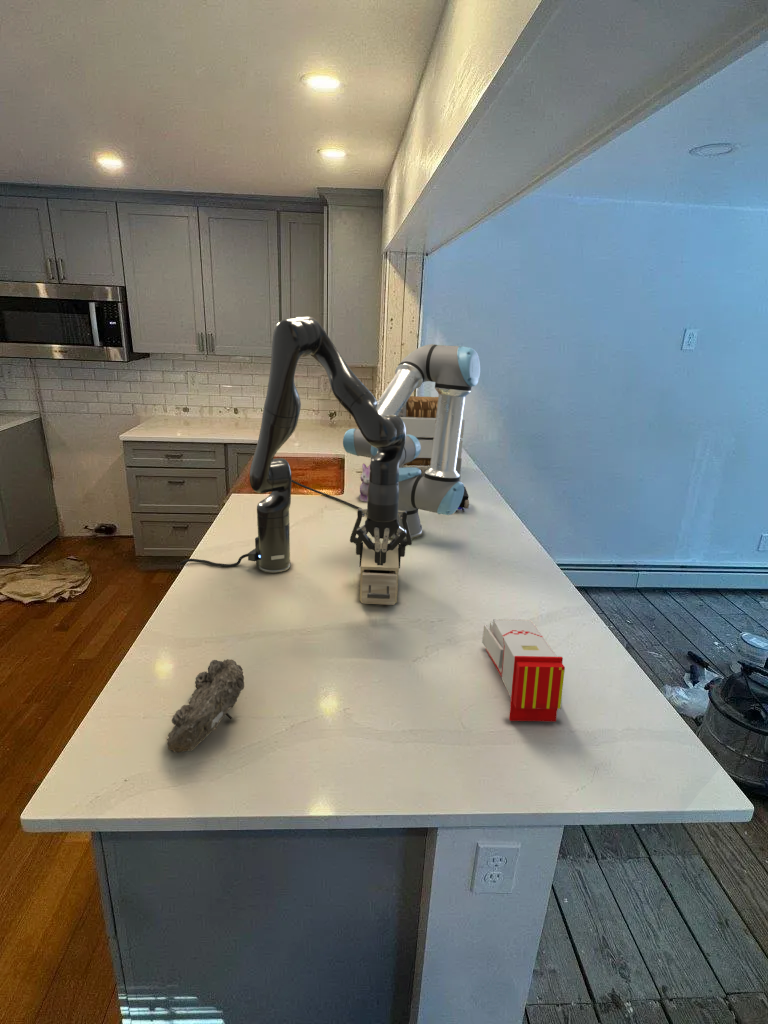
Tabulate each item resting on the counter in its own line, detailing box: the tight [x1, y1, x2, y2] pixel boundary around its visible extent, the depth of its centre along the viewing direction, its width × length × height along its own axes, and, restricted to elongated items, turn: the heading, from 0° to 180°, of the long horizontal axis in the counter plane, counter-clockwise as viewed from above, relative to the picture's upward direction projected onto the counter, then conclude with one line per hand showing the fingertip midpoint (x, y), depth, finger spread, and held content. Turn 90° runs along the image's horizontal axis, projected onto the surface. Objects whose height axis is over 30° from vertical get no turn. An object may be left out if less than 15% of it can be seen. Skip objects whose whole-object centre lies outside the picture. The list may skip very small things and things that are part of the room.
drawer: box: [361, 570, 396, 606], centre depth 153 cm, size 21×9×8 cm, turn 0°
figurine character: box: [455, 486, 470, 513], centre depth 227 cm, size 7×8×15 cm
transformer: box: [398, 395, 465, 482], centre depth 268 cm, size 34×33×41 cm
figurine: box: [358, 463, 370, 503], centre depth 232 cm, size 9×10×15 cm
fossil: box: [166, 658, 245, 754], centre depth 106 cm, size 22×10×15 cm
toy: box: [481, 618, 566, 722], centre depth 122 cm, size 12×13×30 cm
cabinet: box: [359, 542, 400, 604], centre depth 159 cm, size 16×10×10 cm, turn 0°
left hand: (380, 564), depth 143 cm, fingers closed
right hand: (379, 565), depth 162 cm, fingers closed on cabinet, 10 cm apart
